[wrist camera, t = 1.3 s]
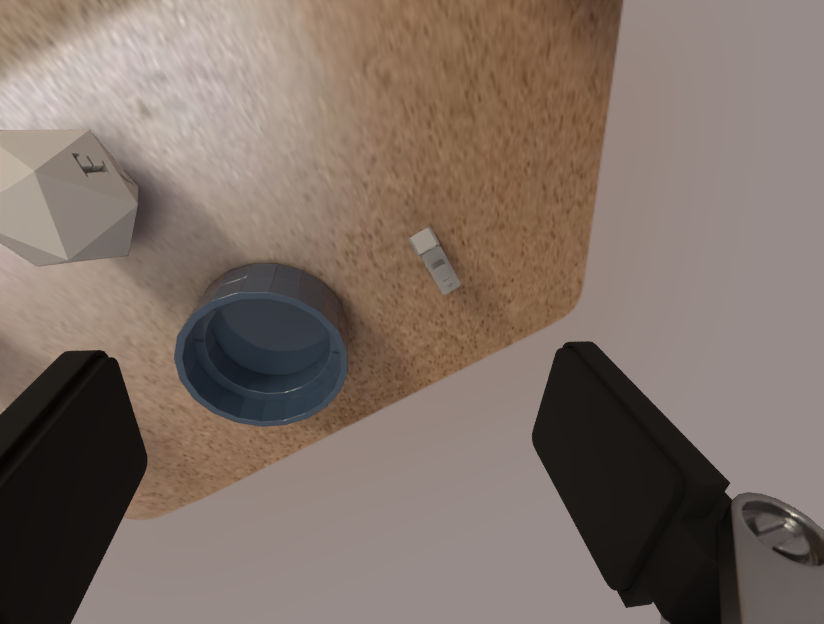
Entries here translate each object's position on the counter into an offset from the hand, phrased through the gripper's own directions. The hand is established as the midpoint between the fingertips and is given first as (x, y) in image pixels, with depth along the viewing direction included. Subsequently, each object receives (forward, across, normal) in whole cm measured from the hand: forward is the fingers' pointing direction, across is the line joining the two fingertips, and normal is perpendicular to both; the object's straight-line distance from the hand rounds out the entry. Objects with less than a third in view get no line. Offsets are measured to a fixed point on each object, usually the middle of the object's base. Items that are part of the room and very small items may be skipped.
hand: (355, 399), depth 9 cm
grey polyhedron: (+28, +18, +2) cm, 33 cm away
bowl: (+27, +6, +14) cm, 32 cm away
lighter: (+27, -7, +5) cm, 29 cm away
